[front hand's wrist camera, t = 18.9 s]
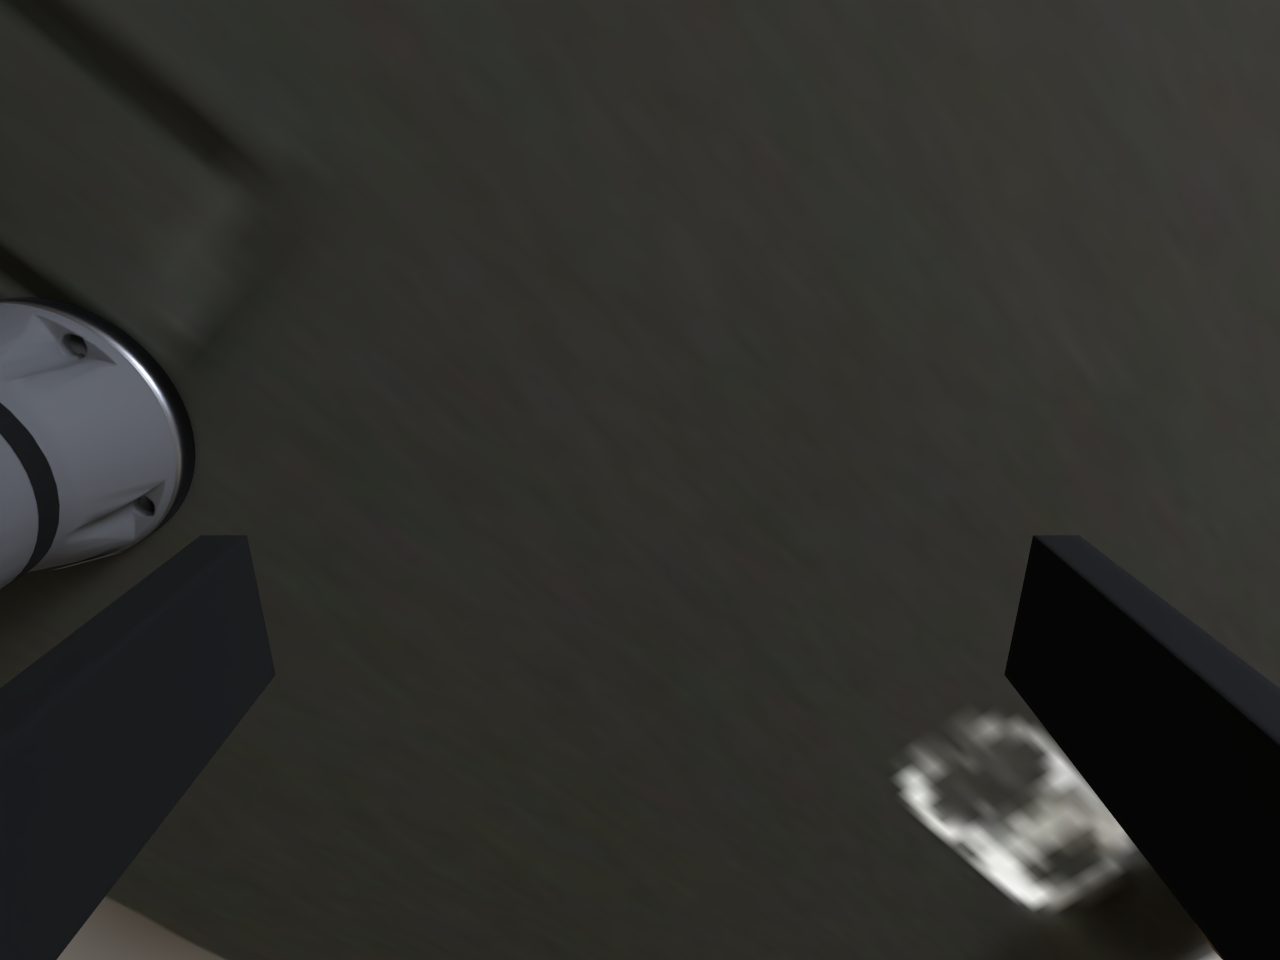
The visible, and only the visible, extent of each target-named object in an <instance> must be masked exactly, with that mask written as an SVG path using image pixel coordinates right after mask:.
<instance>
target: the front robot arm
mask: <svg viewBox="0 0 1280 960" xmlns="http://www.w3.org/2000/svg"><path fill="white" fill-rule="evenodd" d="M194 466H195V444H194V437H193V431H192V427H191V423H190V420H189V417H188V414H187V411H186V408H185V406H184V404H183V401H182V399H181V397H180V395H179V393H178V392H177V390H176V388H175V386H174V384H173V383H172V381H171V380H170V378H169V377H168V375H167V374H166V373H165V371H164V370H163V369H162V368H161V366H160V365H159V364H158V362H157V361H156V360H155V359H154V358H153V357H152V356H151V355H150V354H149V353H148V352H147V351H146V350H145V349H144V348H143V347H142V346H141V345H140V344H139V343H138V342H137V341H135V340H134V339H133V338H132V337H130V336H129V335H128V334H127V333H125V332H124V331H122V330H121V329H119V328H118V327H116V326H115V325H113V324H112V323H110V322H108V321H107V320H105V319H103V318H101V317H100V316H98V315H95V314H93V313H91V312H89V311H87V310H84V309H82V308H79V307H76V306H73V305H70V304H67V303H63V302H59V301H55V300H49V299H44V298H32V297H16V298H7V299H0V589H1V588H3V587H4V586H5V585H7V584H9V583H10V582H12V581H14V580H15V579H17V578H19V577H20V576H22V575H24V574H25V573H27V572H32V571H36V570H41V569H46V568H51V567H55V566H60V565H65V564H70V563H75V562H79V561H84V560H88V561H92V560H96V559H100V558H103V557H107V556H111V555H114V554H115V553H116V554H118V552H121V551H123V550H125V549H127V548H129V547H131V546H133V545H135V544H136V543H138V542H140V541H141V540H143V539H144V538H145V537H147V536H148V535H150V534H151V533H153V532H154V531H156V530H157V529H158V528H160V527H161V526H162V525H164V524H165V523H166V522H167V521H168V520H169V519H170V518H171V517H172V516H173V515H174V514H175V513H176V511H177V510H178V509H179V507H180V506H181V504H182V503H183V501H184V499H185V497H186V495H187V493H188V491H189V488H190V485H191V482H192V478H193V473H194ZM125 552H126V551H125ZM121 553H122V552H121ZM94 558H96V559H94ZM89 559H92V560H89ZM88 561H84V562H81V563H85V562H88ZM81 563H77V564H81ZM77 564H73V565H70V566H74V565H77ZM70 566H66V567H70ZM66 567H62V568H66ZM58 569H61V568H58ZM55 570H57V569H55ZM51 571H52V570H51ZM274 676H275V670H274V665H273V660H272V656H271V651H270V646H269V641H268V636H267V631H266V626H265V622H264V617H263V612H262V607H261V602H260V597H259V592H258V588H257V583H256V578H255V573H254V568H253V563H252V559H251V554H250V549H249V544H248V539H247V536H200V537H198V538H197V539H196V540H194V541H193V542H192V543H190V544H189V545H188V546H187V547H185V548H184V549H183V550H181V551H180V552H179V553H177V554H176V555H175V556H173V557H172V558H171V559H169V560H168V561H167V562H166V563H164V564H163V565H162V566H160V567H159V568H158V569H156V570H155V571H154V572H152V573H151V574H150V575H148V576H147V577H146V578H145V579H143V580H142V581H141V582H139V583H138V584H137V585H135V586H134V587H133V588H131V589H130V590H129V591H127V592H126V593H125V594H124V595H122V596H121V597H120V598H118V599H117V600H116V601H114V602H113V603H112V604H110V605H109V606H108V607H107V608H105V609H104V610H103V611H101V612H100V613H99V614H97V615H96V616H95V617H93V618H92V619H91V620H89V621H88V622H87V623H86V624H84V625H83V626H82V627H80V628H79V629H78V630H76V631H75V632H74V633H72V634H71V635H70V636H68V637H67V638H66V639H65V640H63V641H62V642H61V643H59V644H58V645H57V646H55V647H54V648H53V649H51V650H50V651H49V652H47V653H46V654H45V655H44V656H42V657H41V658H40V659H38V660H37V661H36V662H34V663H33V664H32V665H30V666H29V667H28V668H26V669H25V670H24V671H23V672H21V673H20V674H19V675H17V676H16V677H15V678H13V679H12V680H11V681H9V682H8V683H7V684H6V685H4V686H3V687H2V688H0V960H56V959H57V958H58V957H59V956H60V954H61V953H62V952H63V950H64V949H65V948H66V947H67V945H68V944H69V943H70V941H71V940H72V939H73V937H74V936H75V935H76V934H77V932H78V931H79V930H80V928H81V927H82V926H83V924H84V923H85V922H86V921H87V919H88V918H89V917H90V915H91V914H92V913H93V911H94V910H95V909H96V907H97V906H98V905H99V904H100V902H101V901H102V900H103V898H104V897H105V896H106V895H107V893H108V892H109V891H110V889H111V888H112V887H113V885H114V884H115V883H116V882H117V880H118V879H119V878H120V876H121V875H122V874H123V872H124V871H125V870H126V868H127V867H128V866H129V865H130V863H131V862H132V861H133V859H134V858H135V857H136V855H137V854H138V853H139V852H140V850H141V849H142V848H143V846H144V845H145V844H146V842H147V841H148V840H149V839H150V837H151V836H152V835H153V833H154V832H155V831H156V829H157V828H158V827H159V826H160V824H161V823H162V822H163V820H164V819H165V818H166V816H167V815H168V814H169V813H170V811H171V810H172V809H173V807H174V806H175V805H176V803H177V802H178V801H179V800H180V798H181V797H182V796H183V794H184V793H185V792H186V790H187V789H188V788H189V787H190V785H191V784H192V783H193V781H194V780H195V779H196V777H197V776H198V775H199V774H200V772H201V771H202V770H203V768H204V767H205V766H206V764H207V763H208V762H209V761H210V759H211V758H212V757H213V755H214V754H215V753H216V751H217V750H218V749H219V748H220V746H221V745H222V744H223V742H224V741H225V740H226V738H227V737H228V736H229V735H230V733H231V732H232V731H233V729H234V728H235V727H236V725H237V724H238V723H239V722H240V720H241V719H242V718H243V716H244V715H245V714H246V712H247V711H248V710H249V709H250V707H251V706H252V705H253V703H254V702H255V701H256V699H257V698H258V697H259V696H260V694H261V693H262V692H263V690H264V689H265V688H266V686H267V685H268V684H269V683H270V681H271V680H272V679H273V677H274ZM1005 676H1006V677H1007V679H1008V680H1009V681H1010V683H1011V684H1012V685H1013V686H1014V688H1015V689H1016V690H1017V692H1018V693H1019V694H1020V696H1021V697H1022V698H1023V699H1024V701H1025V702H1026V703H1027V705H1028V706H1029V707H1030V709H1031V710H1032V711H1033V712H1034V714H1035V715H1036V716H1037V718H1038V719H1039V720H1040V722H1041V723H1042V724H1043V725H1044V727H1045V728H1046V729H1047V731H1048V732H1049V733H1050V735H1051V736H1052V737H1053V738H1054V740H1055V741H1056V742H1057V744H1058V745H1059V746H1060V748H1061V749H1062V750H1063V751H1064V753H1065V754H1066V755H1067V757H1068V758H1069V759H1070V761H1071V762H1072V763H1073V764H1074V766H1075V767H1076V768H1077V770H1078V771H1079V772H1080V774H1081V775H1082V776H1083V777H1084V779H1085V780H1086V781H1087V783H1088V784H1089V785H1090V787H1091V788H1092V789H1093V790H1094V792H1095V793H1096V794H1097V796H1098V797H1099V798H1100V800H1101V801H1102V802H1103V803H1104V805H1105V806H1106V807H1107V809H1108V810H1109V811H1110V813H1111V814H1112V815H1113V816H1114V818H1115V819H1116V820H1117V822H1118V823H1119V824H1120V826H1121V827H1122V828H1123V829H1124V831H1125V832H1126V833H1127V835H1128V836H1129V837H1130V839H1131V840H1132V841H1133V842H1134V844H1135V845H1136V846H1137V848H1138V849H1139V850H1140V852H1141V853H1142V854H1143V855H1144V857H1145V858H1146V859H1147V861H1148V862H1149V863H1150V865H1151V866H1152V867H1153V869H1154V870H1155V871H1156V872H1157V874H1158V875H1159V876H1160V878H1161V879H1162V880H1163V882H1164V883H1165V884H1166V885H1167V887H1168V888H1169V889H1170V891H1171V892H1172V893H1173V895H1174V896H1175V897H1176V898H1177V900H1178V901H1179V902H1180V904H1181V905H1182V906H1183V908H1184V909H1185V910H1186V911H1187V913H1188V914H1189V915H1190V917H1191V918H1192V919H1193V921H1194V922H1195V923H1196V924H1197V926H1198V927H1199V928H1200V930H1201V931H1202V932H1203V934H1204V935H1205V936H1206V937H1207V939H1208V940H1209V941H1210V943H1211V944H1212V945H1213V947H1214V948H1215V949H1216V950H1217V952H1218V953H1219V954H1220V956H1221V957H1222V958H1223V960H1280V688H1278V687H1277V686H1276V685H1274V684H1273V683H1272V682H1271V681H1269V680H1268V679H1267V678H1265V677H1264V676H1263V675H1261V674H1260V673H1259V672H1257V671H1256V670H1255V669H1254V668H1252V667H1251V666H1250V665H1248V664H1247V663H1246V662H1244V661H1243V660H1242V659H1240V658H1239V657H1238V656H1236V655H1235V654H1234V653H1233V652H1231V651H1230V650H1229V649H1227V648H1226V647H1225V646H1223V645H1222V644H1221V643H1219V642H1218V641H1217V640H1215V639H1214V638H1213V637H1212V636H1210V635H1209V634H1208V633H1206V632H1205V631H1204V630H1202V629H1201V628H1200V627H1198V626H1197V625H1196V624H1194V623H1193V622H1192V621H1191V620H1189V619H1188V618H1187V617H1185V616H1184V615H1183V614H1181V613H1180V612H1179V611H1177V610H1176V609H1175V608H1173V607H1172V606H1171V605H1170V604H1168V603H1167V602H1166V601H1164V600H1163V599H1162V598H1160V597H1159V596H1158V595H1156V594H1155V593H1154V592H1153V591H1151V590H1150V589H1149V588H1147V587H1146V586H1145V585H1143V584H1142V583H1141V582H1139V581H1138V580H1137V579H1135V578H1134V577H1133V576H1132V575H1130V574H1129V573H1128V572H1126V571H1125V570H1124V569H1122V568H1121V567H1120V566H1118V565H1117V564H1116V563H1114V562H1113V561H1112V560H1111V559H1109V558H1108V557H1107V556H1105V555H1104V554H1103V553H1101V552H1100V551H1099V550H1097V549H1096V548H1095V547H1093V546H1092V545H1091V544H1090V543H1088V542H1087V541H1086V540H1084V539H1083V538H1082V537H1080V536H1033V539H1032V544H1031V549H1030V554H1029V559H1028V563H1027V568H1026V573H1025V578H1024V583H1023V588H1022V592H1021V597H1020V602H1019V607H1018V612H1017V617H1016V622H1015V626H1014V631H1013V636H1012V641H1011V646H1010V651H1009V656H1008V660H1007V665H1006V670H1005Z"/></svg>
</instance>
